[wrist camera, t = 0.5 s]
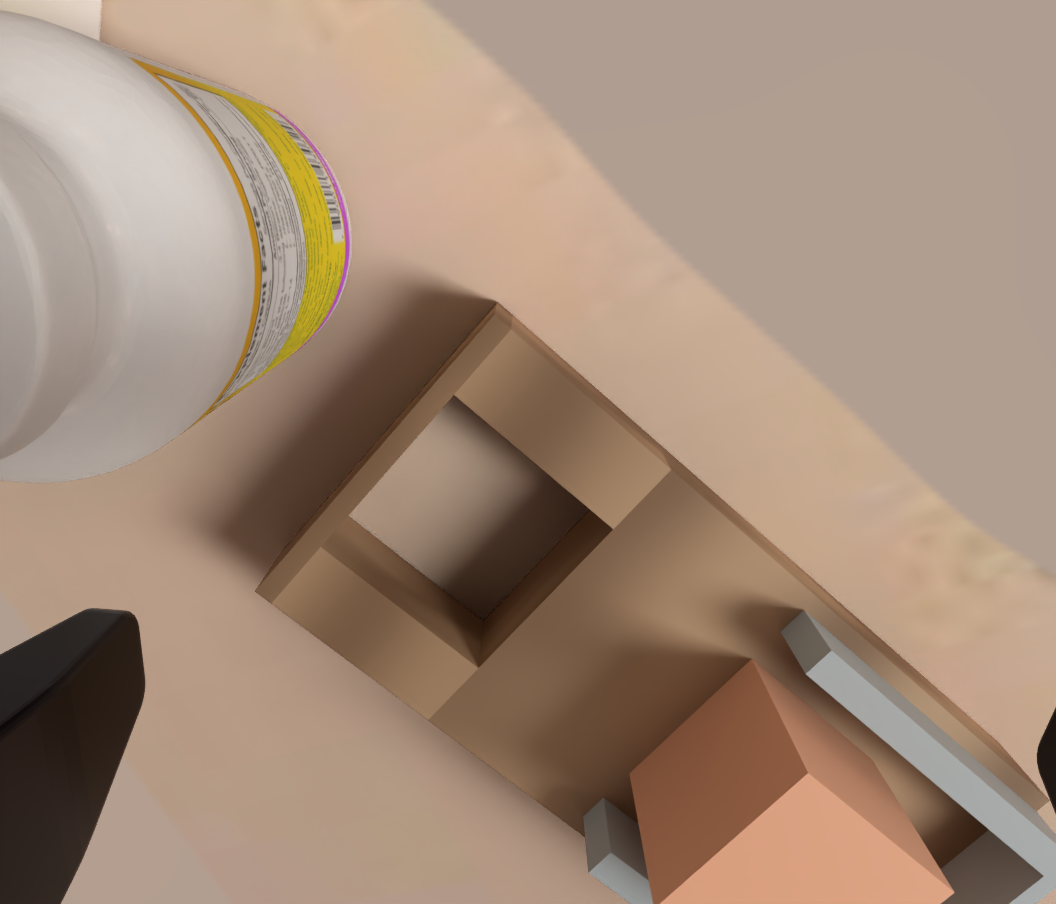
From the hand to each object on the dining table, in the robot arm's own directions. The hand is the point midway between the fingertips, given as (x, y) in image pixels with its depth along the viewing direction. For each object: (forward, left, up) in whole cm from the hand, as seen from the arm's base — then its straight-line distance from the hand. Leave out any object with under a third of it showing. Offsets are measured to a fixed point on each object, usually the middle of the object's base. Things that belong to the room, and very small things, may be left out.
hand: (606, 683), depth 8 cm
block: (-6, -9, -12) cm, 16 cm away
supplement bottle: (-1, +9, -15) cm, 17 cm away
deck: (-5, -6, -14) cm, 17 cm away
